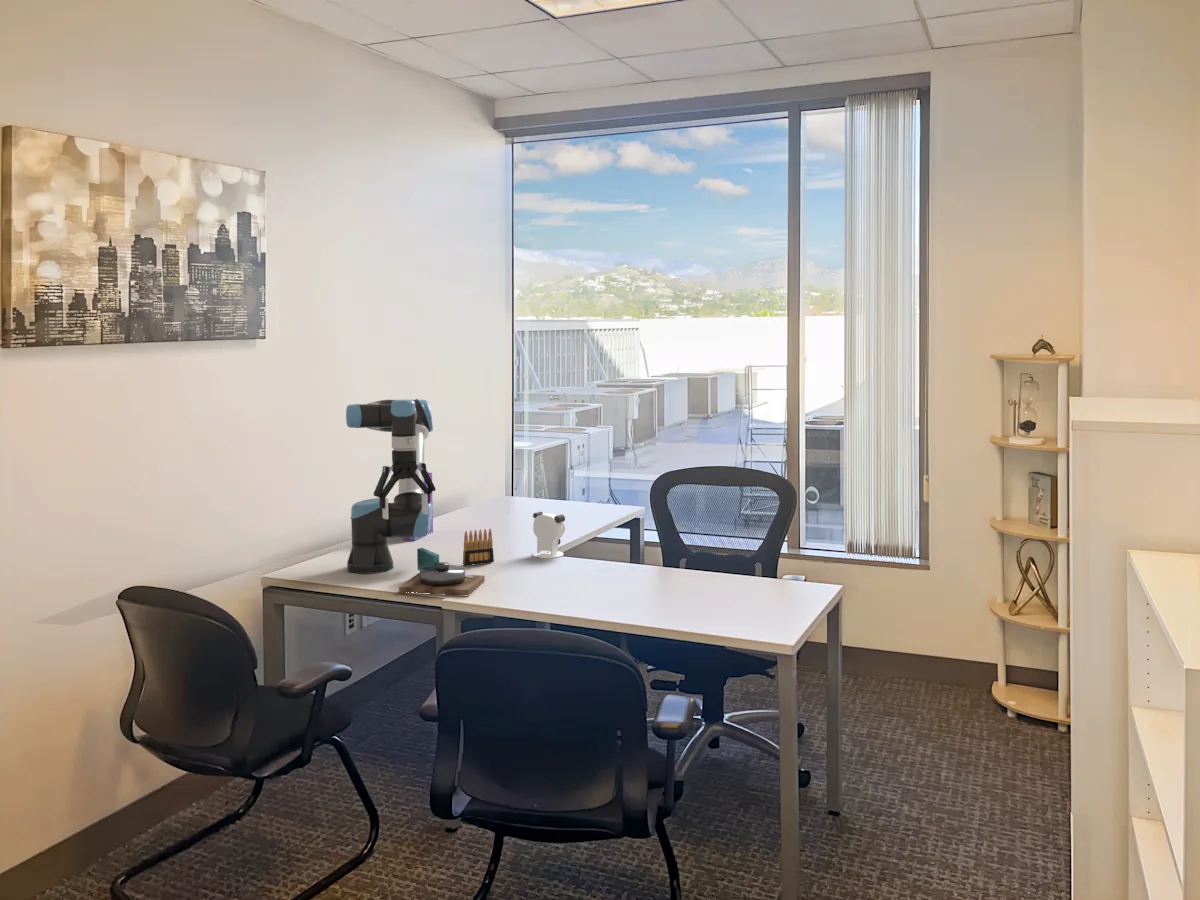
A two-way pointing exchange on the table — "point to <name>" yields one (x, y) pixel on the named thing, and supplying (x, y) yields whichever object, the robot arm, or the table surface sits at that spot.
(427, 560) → the dial
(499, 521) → the table surface
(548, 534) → the panda figurine
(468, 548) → the ammunition clip
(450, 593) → the stand
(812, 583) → the table surface
